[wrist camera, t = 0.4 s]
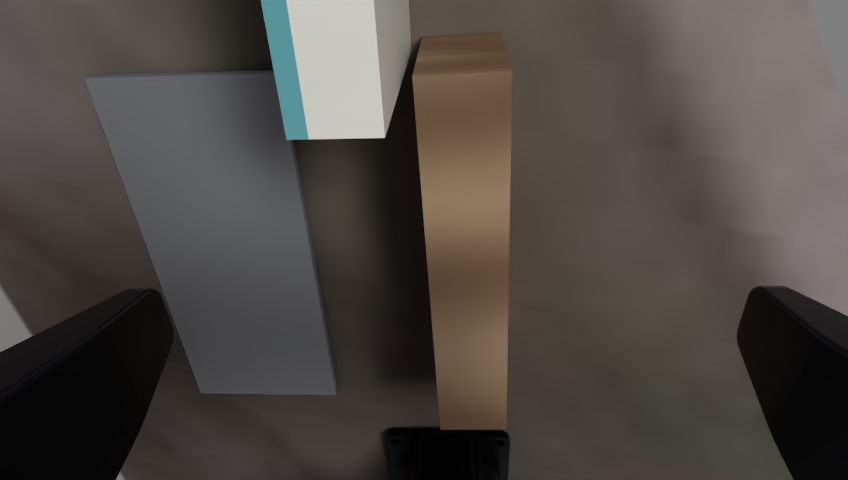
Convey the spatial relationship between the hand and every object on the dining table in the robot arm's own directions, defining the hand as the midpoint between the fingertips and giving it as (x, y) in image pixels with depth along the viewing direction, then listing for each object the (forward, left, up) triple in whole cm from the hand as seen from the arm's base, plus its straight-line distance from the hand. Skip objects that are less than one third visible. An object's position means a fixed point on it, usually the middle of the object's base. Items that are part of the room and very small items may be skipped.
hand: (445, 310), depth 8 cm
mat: (-8, +9, -13) cm, 17 cm away
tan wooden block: (-6, -1, -13) cm, 14 cm away
